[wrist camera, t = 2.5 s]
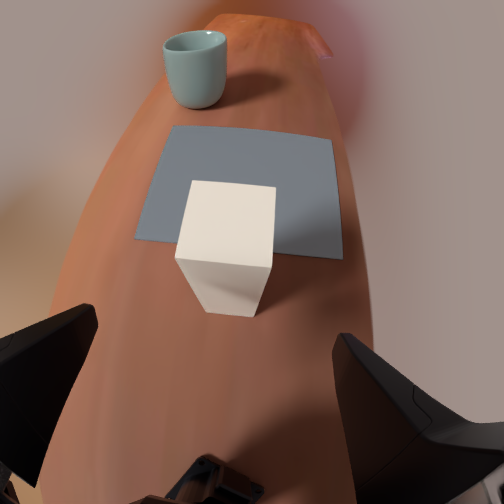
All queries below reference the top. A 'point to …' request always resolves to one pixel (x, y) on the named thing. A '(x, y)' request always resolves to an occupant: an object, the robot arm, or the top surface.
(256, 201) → the block
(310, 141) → the slate mat
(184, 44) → the cup
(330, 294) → the top surface
